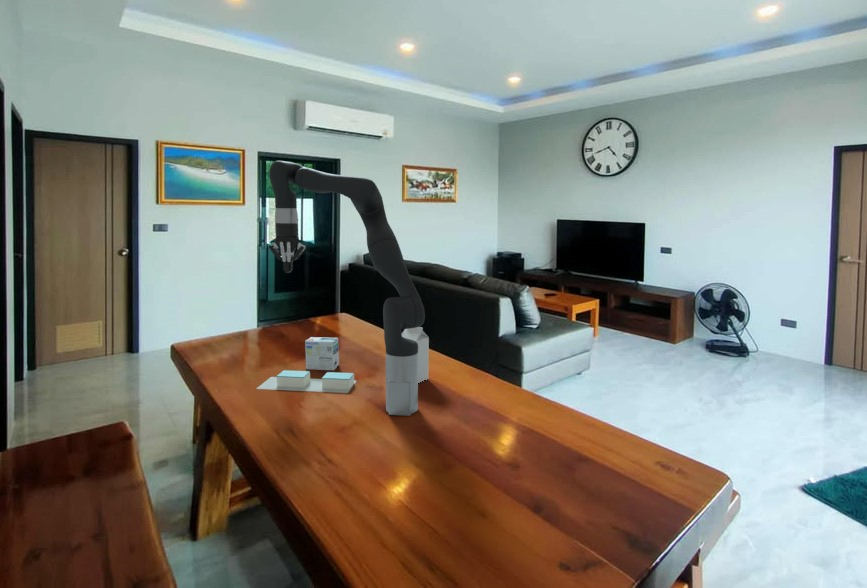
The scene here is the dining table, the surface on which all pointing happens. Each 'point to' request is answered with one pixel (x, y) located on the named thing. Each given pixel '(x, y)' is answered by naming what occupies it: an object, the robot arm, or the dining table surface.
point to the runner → (311, 386)
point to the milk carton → (420, 350)
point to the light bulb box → (322, 353)
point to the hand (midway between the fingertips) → (288, 272)
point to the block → (338, 380)
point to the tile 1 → (293, 378)
